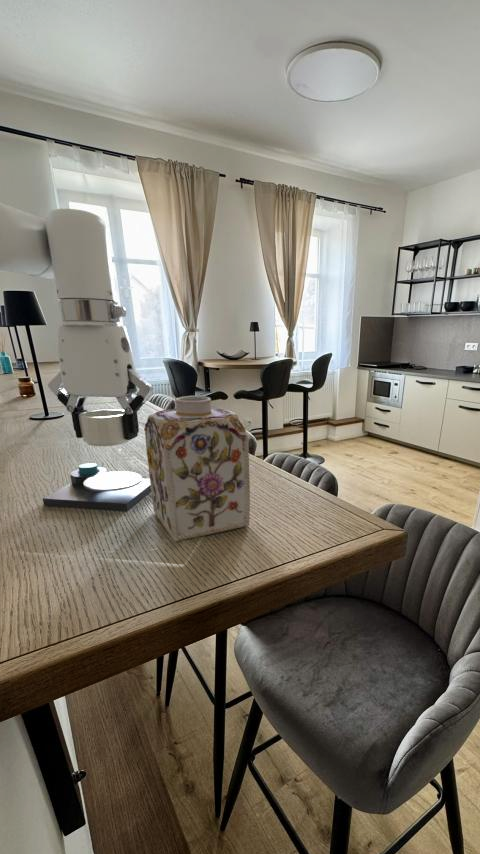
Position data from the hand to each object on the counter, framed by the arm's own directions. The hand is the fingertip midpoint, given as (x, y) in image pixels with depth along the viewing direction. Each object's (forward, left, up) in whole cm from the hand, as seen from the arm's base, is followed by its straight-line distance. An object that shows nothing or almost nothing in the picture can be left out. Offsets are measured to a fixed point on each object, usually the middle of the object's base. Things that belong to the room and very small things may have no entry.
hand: (107, 436), depth 65 cm
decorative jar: (+16, -6, -11) cm, 21 cm away
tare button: (-7, +5, -8) cm, 12 cm away
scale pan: (0, 0, -8) cm, 8 cm away
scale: (-3, +1, -11) cm, 11 cm away
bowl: (0, 0, -1) cm, 1 cm away
